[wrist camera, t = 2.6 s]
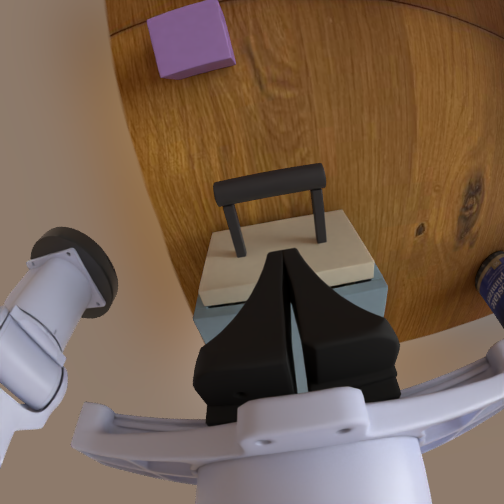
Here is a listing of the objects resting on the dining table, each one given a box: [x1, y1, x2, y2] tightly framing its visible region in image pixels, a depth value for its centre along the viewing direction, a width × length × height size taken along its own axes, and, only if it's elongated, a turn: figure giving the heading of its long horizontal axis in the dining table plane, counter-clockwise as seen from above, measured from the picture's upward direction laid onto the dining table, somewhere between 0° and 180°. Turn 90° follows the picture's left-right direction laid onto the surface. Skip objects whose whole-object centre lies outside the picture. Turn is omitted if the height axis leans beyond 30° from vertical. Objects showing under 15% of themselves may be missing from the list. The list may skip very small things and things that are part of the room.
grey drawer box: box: [193, 262, 388, 394], centre depth 22 cm, size 14×11×9 cm
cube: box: [147, 0, 236, 80], centre depth 13 cm, size 4×4×4 cm
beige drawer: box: [198, 163, 374, 306], centre depth 20 cm, size 17×10×7 cm, turn 12°
